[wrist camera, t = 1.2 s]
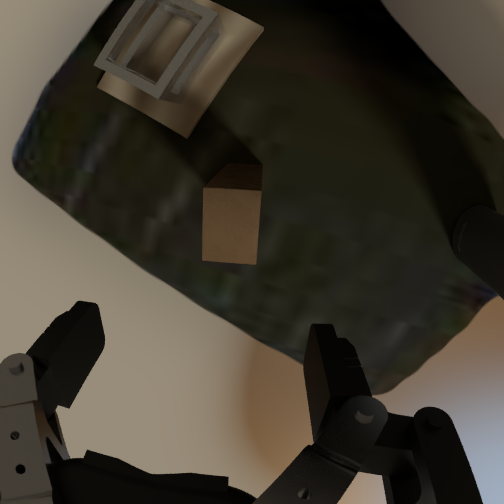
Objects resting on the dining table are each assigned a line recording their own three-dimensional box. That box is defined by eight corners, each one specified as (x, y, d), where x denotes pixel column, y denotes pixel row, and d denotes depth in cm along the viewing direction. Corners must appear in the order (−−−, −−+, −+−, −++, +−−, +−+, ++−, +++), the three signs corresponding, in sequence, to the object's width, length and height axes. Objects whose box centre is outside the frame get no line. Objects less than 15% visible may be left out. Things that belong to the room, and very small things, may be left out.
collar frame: (228, 35, 30) (218, 12, 22) (180, 104, 33) (158, 99, 26) (170, 8, 28) (148, -16, 21) (125, 74, 32) (93, 65, 24)
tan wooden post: (262, 164, 36) (261, 191, 22) (259, 210, 39) (255, 266, 24) (228, 162, 37) (203, 187, 22) (226, 208, 39) (202, 262, 24)
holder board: (263, 30, 30) (263, 27, 29) (188, 137, 35) (186, 138, 35) (168, -15, 28) (166, -17, 27) (100, 87, 33) (97, 87, 32)
